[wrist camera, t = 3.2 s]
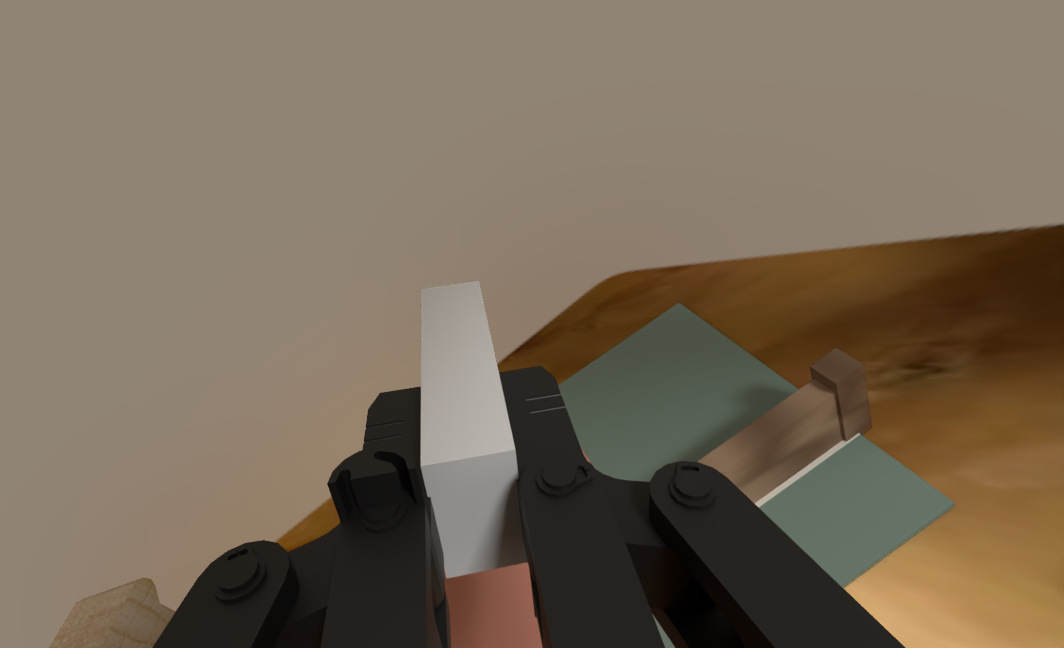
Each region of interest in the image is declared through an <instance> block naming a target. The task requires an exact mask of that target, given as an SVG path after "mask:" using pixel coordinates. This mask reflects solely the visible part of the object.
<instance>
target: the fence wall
mask: <svg viewBox="0 0 1064 648" xmlns="http://www.w3.org/2000/svg"><path fill="white" fill-rule="evenodd" d="M810 370H811V375H812V379H813V380H812V381H811V382H809V383H808V384H806V385H805V386H804V387H802V388H801V389H799V390H798V391H796V392H795V393H794V394H792V395H791V396H789V397H788V398H787V399H785V400H784V401H782V402H781V403H780V404H778V405H777V406H775V407H774V408H772V409H771V410H770V411H768V412H767V413H765V414H764V415H763V416H761V417H760V418H758V419H757V420H756V421H754V422H753V423H751V424H750V425H748V426H747V427H746V428H744V429H743V430H741V431H740V432H739V433H737V434H736V435H734V436H733V437H731V438H730V439H729V440H727V441H726V442H724V443H723V444H722V445H720V446H719V447H717V448H716V449H715V450H713V451H712V452H710V453H709V454H707V455H706V456H705V457H703V458H702V459H700V460H699V461H698V462H699V463H702V464H705V465H707V466H710V467H713V468H715V469H716V470H718V471H719V472H720V473H722V474H723V475H725V476H726V477H727V478H728V479H729V480H730V481H731V482H732V483H733V484H735V485H736V486H737V487H738V488H739V489H740V490H741V491H742V492H743V493H744V494H745V495H746V496H747V497H748V498H749V499H750V500H751V501H752V502H753V503H754V504H755V503H756V502H758V501H759V500H760V499H762V498H763V497H764V496H766V495H767V494H769V493H770V492H771V491H773V490H774V489H776V488H777V487H778V486H780V485H781V484H783V483H784V482H785V481H787V480H788V479H790V478H791V477H792V476H794V475H795V474H796V473H798V472H799V471H801V470H802V469H803V468H805V467H806V466H808V465H809V464H810V463H812V462H813V461H815V460H816V459H817V458H819V457H820V456H822V455H823V454H824V453H826V452H827V451H828V450H830V449H831V448H833V447H834V446H835V445H837V444H838V443H840V442H841V441H842V440H845V441H846V442H847V441H848V440H850V439H851V438H852V437H854V436H855V435H857V434H858V433H860V434H861V435H862V434H863V433H865V432H866V431H867V430H869V429H870V428H872V425H871V417H870V409H869V401H868V394H867V386H866V378H865V370H864V364H862V363H861V362H859V361H857V360H856V359H854V358H852V357H851V356H849V355H847V354H846V353H844V352H842V351H841V350H839V349H837V348H835V349H833V350H832V351H830V352H829V353H828V354H826V355H825V356H823V357H822V358H820V359H819V360H818V361H816V362H815V363H813V364H812V365H811V366H810Z"/></svg>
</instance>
